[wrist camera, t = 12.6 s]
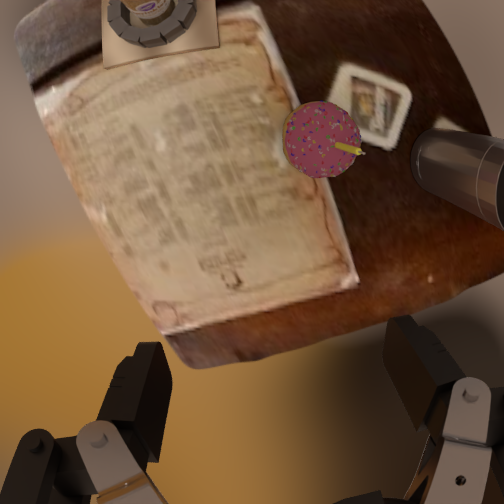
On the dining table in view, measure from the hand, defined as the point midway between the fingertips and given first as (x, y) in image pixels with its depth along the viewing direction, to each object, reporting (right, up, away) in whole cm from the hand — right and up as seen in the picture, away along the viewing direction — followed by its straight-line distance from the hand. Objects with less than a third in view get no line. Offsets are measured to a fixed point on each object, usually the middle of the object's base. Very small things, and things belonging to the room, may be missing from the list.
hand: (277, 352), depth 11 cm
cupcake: (+6, +17, +26) cm, 32 cm away
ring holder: (-12, +32, +19) cm, 39 cm away
